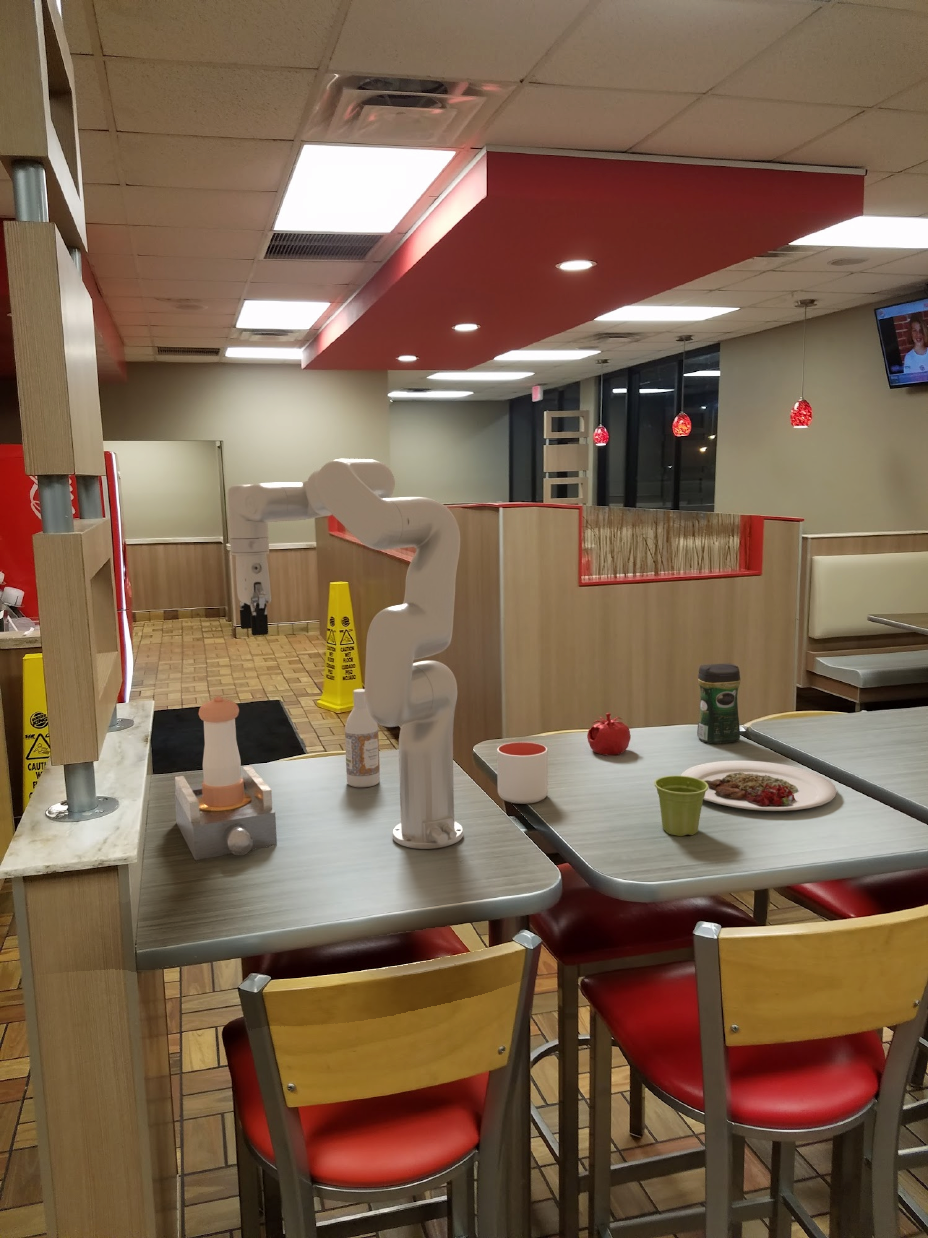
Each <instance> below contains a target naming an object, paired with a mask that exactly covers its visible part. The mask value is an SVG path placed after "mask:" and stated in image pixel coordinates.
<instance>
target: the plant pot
mask: <svg viewBox="0 0 928 1238" xmlns="http://www.w3.org/2000/svg"><path fill="white" fill-rule="evenodd" d="M653 782H654V787H655V788H656V792H657V794H658V799H659V807H660V816H661V825H662V826H661V827H662V830H664V831H665V832H666V833H667V834H669V835H673V836H677V837H683V836H686V835H689V836H692V835H696V834H697V833H698V830H699V824H700V818H701V813H702V812H701V811H702V807H703V801H704V799H703V798H704V796H705V792H706V791H707V790H708V784H707V783H706V782H705V781H703V780H700V779H697V778H694V777H688V776H680V775H668V776H667V775H666V776H662V777H659V778H656V780H654V781H653Z"/></svg>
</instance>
